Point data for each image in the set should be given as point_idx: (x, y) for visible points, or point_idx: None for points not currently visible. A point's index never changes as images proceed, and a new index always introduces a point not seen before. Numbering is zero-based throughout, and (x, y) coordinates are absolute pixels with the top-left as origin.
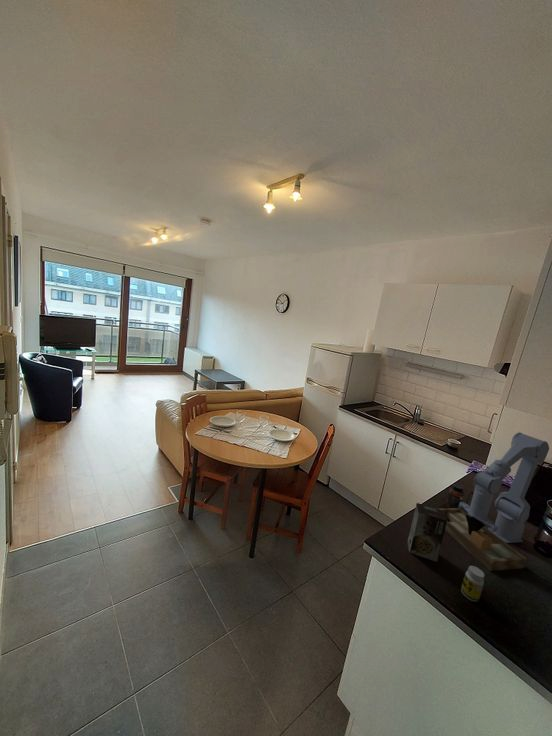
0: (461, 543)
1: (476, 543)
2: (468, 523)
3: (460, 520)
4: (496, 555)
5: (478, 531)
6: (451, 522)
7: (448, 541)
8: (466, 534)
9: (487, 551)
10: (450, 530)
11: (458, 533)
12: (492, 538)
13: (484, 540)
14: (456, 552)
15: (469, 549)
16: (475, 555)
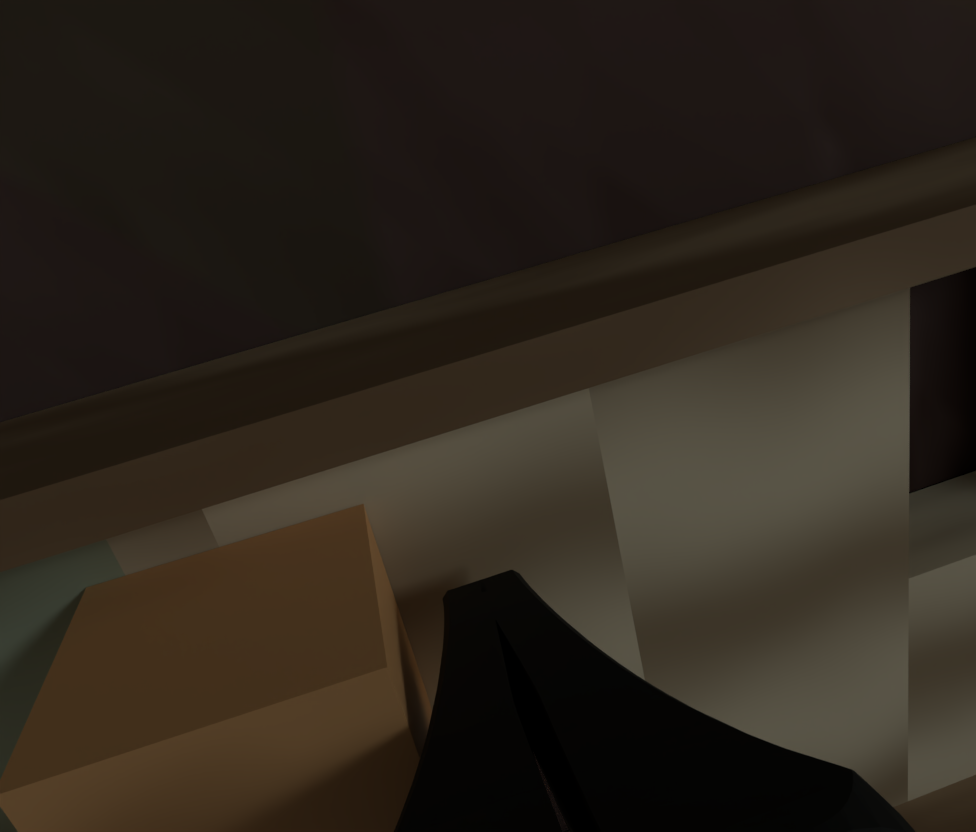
0: (359, 324)
1: (188, 591)
2: (633, 712)
3: (935, 629)
4: None
5: None
6: (894, 408)
7: (405, 54)
8: (555, 539)
9: None
10: (679, 251)
11: (512, 332)
12: None
13: (33, 828)
14: (35, 22)
15: (169, 390)
16: (18, 430)
